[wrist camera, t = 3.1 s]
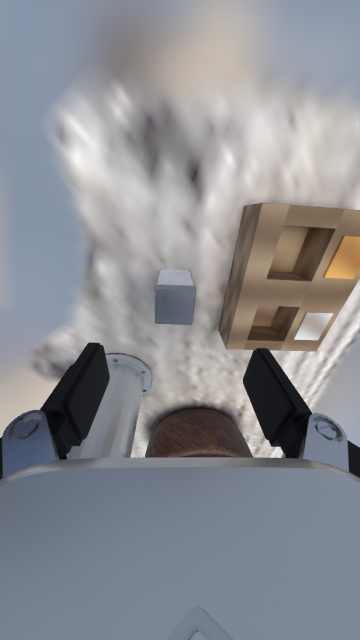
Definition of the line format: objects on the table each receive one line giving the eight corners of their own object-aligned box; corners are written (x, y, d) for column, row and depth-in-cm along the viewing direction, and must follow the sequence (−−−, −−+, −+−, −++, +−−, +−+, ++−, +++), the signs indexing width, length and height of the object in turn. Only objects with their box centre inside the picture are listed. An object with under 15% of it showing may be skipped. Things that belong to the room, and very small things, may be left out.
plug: (187, 297, 27) (192, 324, 20) (160, 296, 26) (155, 323, 19) (189, 269, 24) (196, 289, 18) (160, 268, 24) (154, 288, 17)
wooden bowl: (251, 437, 49) (268, 485, 41) (174, 457, 55) (174, 504, 46) (222, 386, 38) (237, 438, 29) (128, 419, 43) (116, 471, 34)
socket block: (296, 332, 31) (317, 352, 26) (218, 330, 30) (226, 350, 25) (353, 214, 22) (402, 212, 17) (244, 206, 21) (264, 202, 16)
